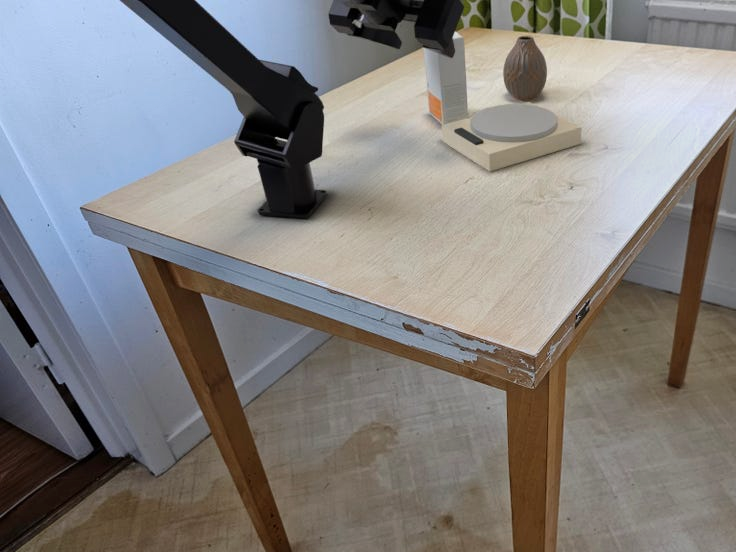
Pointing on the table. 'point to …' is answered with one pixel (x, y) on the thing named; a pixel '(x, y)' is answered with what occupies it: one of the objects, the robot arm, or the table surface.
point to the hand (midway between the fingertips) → (426, 50)
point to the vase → (525, 70)
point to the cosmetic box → (447, 83)
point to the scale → (510, 135)
